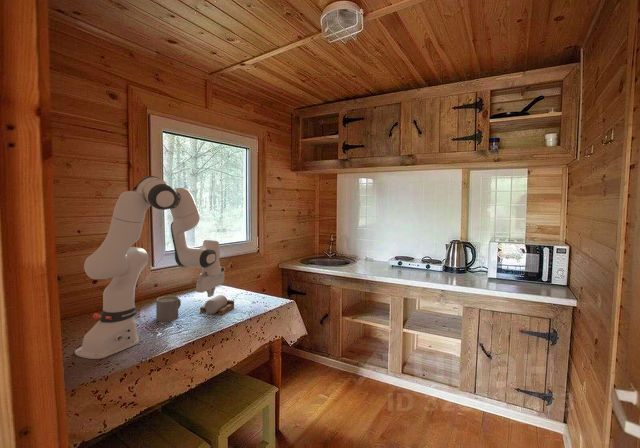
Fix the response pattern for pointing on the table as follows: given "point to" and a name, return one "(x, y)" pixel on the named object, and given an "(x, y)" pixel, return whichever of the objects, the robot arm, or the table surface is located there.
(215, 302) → the can
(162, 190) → the robot arm
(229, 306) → the cradle
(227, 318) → the table surface
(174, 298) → the coffee mug
